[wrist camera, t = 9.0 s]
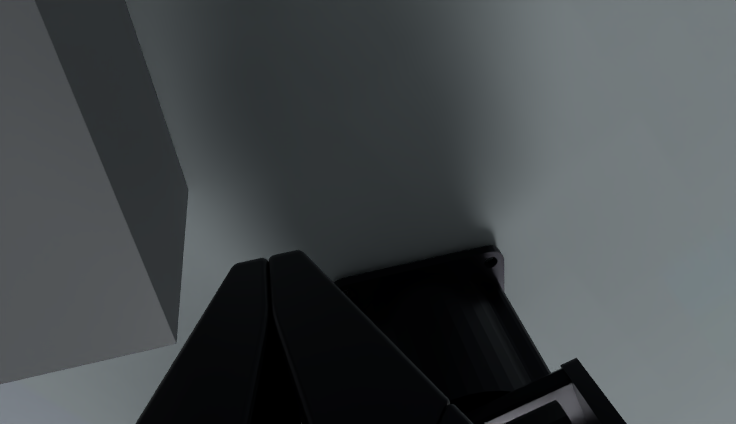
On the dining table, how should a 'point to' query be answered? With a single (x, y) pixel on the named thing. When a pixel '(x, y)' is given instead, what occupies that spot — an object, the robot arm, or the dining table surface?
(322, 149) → the dining table surface
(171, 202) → the camera housing
